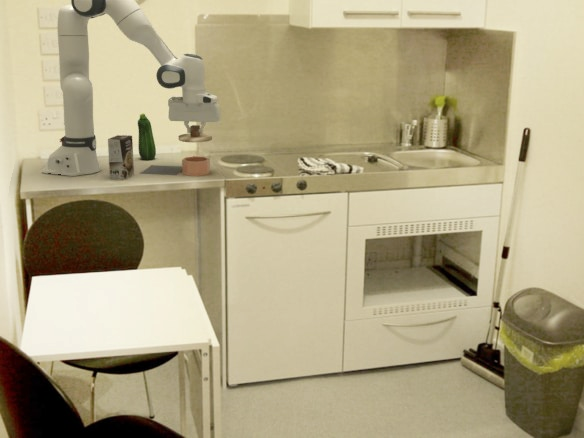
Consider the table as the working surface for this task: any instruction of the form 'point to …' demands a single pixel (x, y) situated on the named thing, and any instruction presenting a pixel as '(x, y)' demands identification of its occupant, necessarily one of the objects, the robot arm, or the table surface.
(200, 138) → the lid
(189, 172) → the bowl
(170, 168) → the mat
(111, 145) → the coffee box
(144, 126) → the vegetable
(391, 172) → the table surface
